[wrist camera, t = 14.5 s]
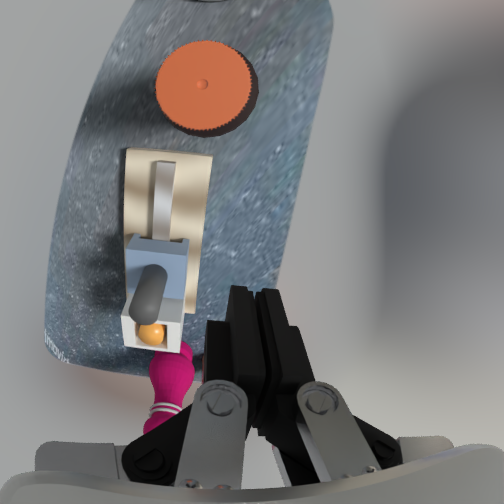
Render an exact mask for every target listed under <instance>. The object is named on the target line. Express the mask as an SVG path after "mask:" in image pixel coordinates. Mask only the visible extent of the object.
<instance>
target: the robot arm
mask: <svg viewBox="0 0 504 504" xmlns="http://www.w3.org/2000/svg"><path fill="white" fill-rule="evenodd" d="M200 1H224V0H200ZM251 425H252V427H253V428H257V430H258V436H265V438H266V440H267V441H268V442H270V443H271V444H272V450H273V454H274V456H275V459H276V462H277V465H278V468H279V471H280V473H281V476H282V479H283V482H284V485H285V487H281V488H266V489H241V482H242V472H243V460H244V448H245V440H246V439H247V436H248V433H249V431H250V428H251ZM0 504H504V452H503V451H502V450H501V449H499V448H498V447H495V446H492V445H487V444H468V445H463V446H458V447H454V446H453V444H452V442H451V441H450V440H449V439H447V438H445V437H443V436H427V437H399V438H398V439H394V438H392V437H391V436H390V435H388V434H386V433H384V432H382V431H380V430H379V429H377V428H375V427H373V426H372V425H370V424H368V423H366V422H364V421H363V420H361V419H359V418H357V417H356V416H354V415H352V413H351V412H350V410H349V408H348V406H347V404H346V403H345V401H344V399H343V397H342V395H341V394H340V392H339V391H338V390H337V389H336V388H334V387H333V386H332V385H329V384H327V383H324V382H320V381H315V378H314V375H313V372H312V369H311V365H310V362H309V359H308V356H307V352H306V349H305V346H304V343H303V340H302V337H301V334H300V330H299V328H298V327H297V326H289V324H288V320H287V317H286V313H285V310H284V306H283V303H282V300H281V296H280V293H279V290H278V289H268V288H263V289H262V291H261V292H256V295H255V299H254V296H253V291H248V289H247V287H246V286H235V285H231V288H230V294H229V300H228V306H227V312H226V319H225V321H214V320H207V325H206V334H205V345H204V370H203V384H202V385H201V386H200V387H199V388H198V389H197V391H196V393H195V396H194V400H193V403H192V404H190V405H189V406H188V407H186V408H185V409H183V410H182V411H180V412H179V413H177V414H175V415H174V416H172V417H171V418H169V419H168V420H166V421H165V422H163V423H162V424H160V425H158V426H157V427H155V428H154V429H152V430H151V431H149V432H147V433H146V434H144V435H143V436H141V437H139V438H138V439H136V440H134V441H133V442H131V443H130V444H129V445H126V446H114V444H113V443H75V442H58V441H51V442H46V443H44V444H42V445H41V446H40V447H39V448H38V450H37V451H36V455H35V471H32V472H26V473H21V474H18V475H15V476H13V477H11V478H10V479H9V480H8V481H7V482H6V483H5V484H4V485H3V487H2V489H1V491H0Z"/></svg>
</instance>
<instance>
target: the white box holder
mask: <svg viewBox="0 0 504 504" xmlns="http://www.w3.org/2000/svg"><path fill="white" fill-rule="evenodd" d="M185 295H186V286H185V292H184V299H183V300H182V299H173V298H165V297H163V298H162V302H161V306H160V311H159V315H158V319H157V321H156V322H155V323H156V324H164V325H165V331H164V336H163V341H162V342H161V343H160V344H158V345H148V344H145V343H144V342H142V341H141V340H140V338H139V336H138V333H139V329H140V325H141V324H138V323H136V322H135V321H133V320H132V319H131V317H130V316H129V312H128V310H129V306H130V304H131V301H132V298H133V296H134V294H133V293H129V296H128V298H127V301H126V303H125V306H124V308H123V311H122V314H121V321H122V330H123V337H124V345H125V346H129V347H136V348H143V349H150V350H158V351H166V352H174V353H180V345H181V336H182V328H183V320H184V311H185Z"/></svg>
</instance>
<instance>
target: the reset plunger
mask: <svg viewBox="0 0 504 504" xmlns="http://www.w3.org/2000/svg"><path fill="white" fill-rule="evenodd" d="M164 331H165V325H164V324H156V323H154V324H151V325H140V329H139V333H138V336H139V338H140V340H141V341H142V342H144V343H145V344H148V345H158V344H160V343H161V342H162V341H163V336H164Z"/></svg>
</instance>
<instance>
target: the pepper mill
mask: <svg viewBox="0 0 504 504" xmlns="http://www.w3.org/2000/svg"><path fill="white" fill-rule="evenodd" d="M192 356H193V353H192V349H191V348H190V346H189V345H187V344H186V343H185V342H183V341H181V345H180V353H174V352H166V351H158V350H155V357H154V358H153V359H152V360H151V362H150V366H149V375H150V379H151V382H152V385H153V387H154V391H155V401H154V404H153V405H152V406H151V407H150V413H149V417H150V418H149V419H148V420H147V421H146V422H145V424H144V428H143V433H144V434H146V433H147V432H149V431H151V430H152V429H154V428H155V427H157V426H158V425H160V424H162V423H163V422H165V421H166V420H168V419H169V418H171V417H172V416H174V415H175V414H177V413H179V412H180V411H182V410H183V409H182V401H183V398H184V395H185V394H186V392H187V390H188V389H189V388H190V386H191V384H192V382H193V379H194V374H195V370H194V366H193V364H192Z"/></svg>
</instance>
